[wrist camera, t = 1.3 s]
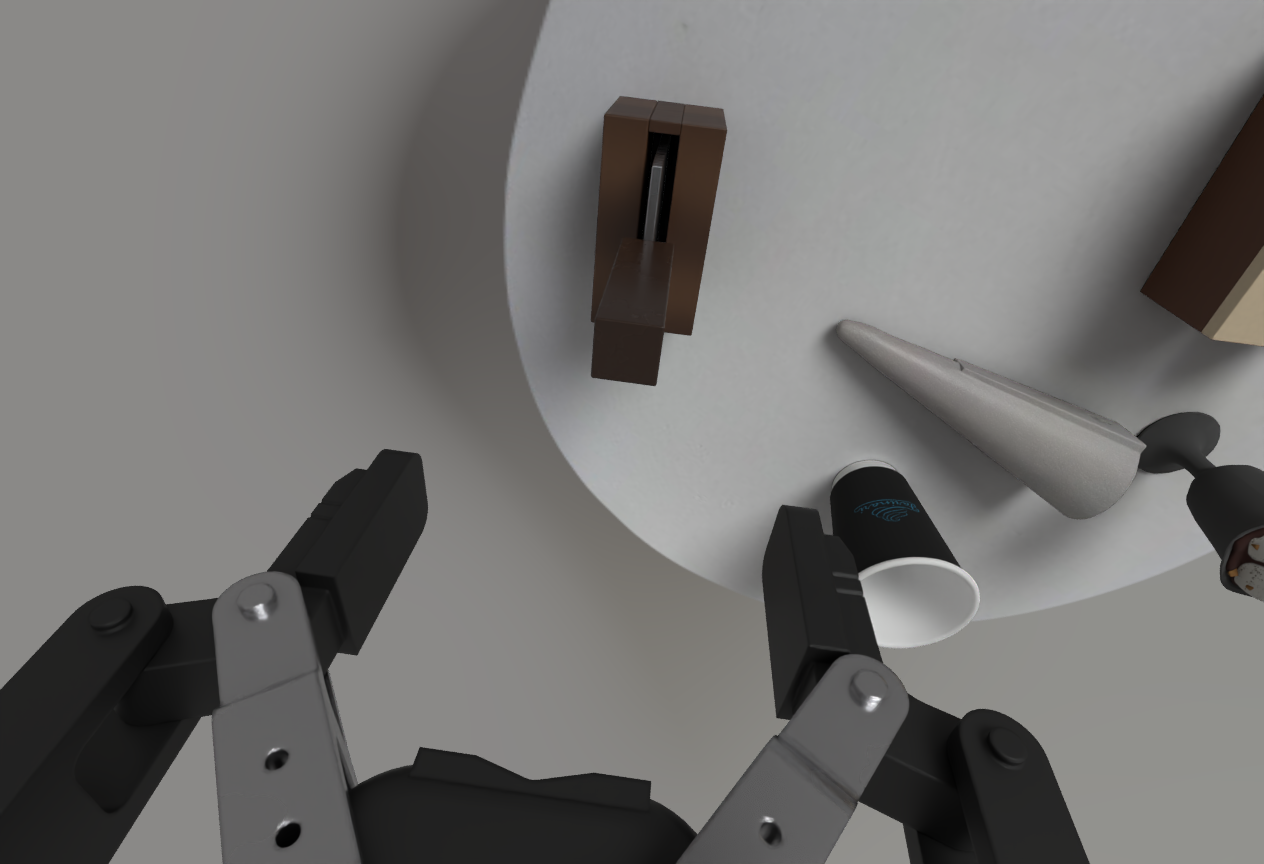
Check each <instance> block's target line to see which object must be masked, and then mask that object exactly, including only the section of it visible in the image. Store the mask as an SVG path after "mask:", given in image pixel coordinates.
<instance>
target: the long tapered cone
mask: <svg viewBox="0 0 1264 864" xmlns="http://www.w3.org/2000/svg"><path fill="white" fill-rule="evenodd" d="M836 333H837V335H838V336H839V338H840V339H841V340H842V341H843V342H844V343H846V344H847V345H848V346H849V347H851V348H852V349H853V350H854V351H856V352H857V353H858V354H859V355H860V356H862V357H863V358H864V359H865V360H866V361H867V362H869V363H870V364H871V365H872V366H873V367H875V368H876V369H877V370H879V371H880V372H881V373H882V374H884V375H885V376H886V377H887V378H889V379H890V380H891V381H893V382H894V383H895V384H896V385H898V386H899V387H900V388H902V389H903V390H904V391H905V392H907V393H908V394H909V395H911V396H912V397H913V398H914V399H916V400H917V401H918V402H920V403H921V404H922V405H924V406H925V407H926V408H927V409H929V410H930V411H931V412H933V413H934V414H935V415H937V416H938V417H939V418H940V419H942V420H943V421H944V422H945V423H947V424H948V425H949V426H951V427H952V428H953V429H954V430H956V431H957V432H958V433H960V434H961V435H962V436H963V437H965V438H966V439H967V440H969V441H970V442H971V443H972V444H974V445H975V446H976V447H978V448H979V449H980V450H981V451H983V452H984V453H985V454H987V455H988V456H989V457H990V458H992V459H993V460H994V461H995V462H997V463H998V464H999V465H1001V466H1002V467H1003V468H1005V469H1006V470H1007V471H1008V472H1010V473H1011V474H1012V475H1014V476H1015V477H1016V478H1018V479H1019V480H1020V481H1021V482H1023V483H1024V484H1025V485H1026V486H1028V487H1029V488H1030V489H1031V490H1032V491H1034V492H1035V493H1036V494H1037V495H1039V496H1040V497H1041V498H1043V499H1044V500H1045V501H1047V502H1048V503H1049V504H1050V505H1052V506H1053V507H1054V508H1056V509H1057V510H1058V511H1059V512H1061V513H1062V514H1063V515H1065V516H1067V517H1069V518H1072V519H1087V518H1091V517H1094V516H1096V515H1098V514H1100V513H1102V512H1104V511H1106V510H1107V509H1108V508H1110V507H1111V506H1112V505H1114V504H1115V503H1116V502H1117V501H1118V500H1119V499H1120V498H1121V497H1122V496H1123V494H1124V493H1125V492H1126V490H1127V489H1128V487H1129V486H1130V484H1131V483H1132V481H1133V479H1134V477H1135V474H1136V471H1137V468H1138V464H1139V459H1140V454H1141V452H1142V451H1143V450H1144V449H1145V448H1146V445H1145V444H1144V443H1143V442H1142V441H1141V440H1139V439H1138V438H1137V437H1136V436H1134V435H1133V434H1132V433H1131V432H1129V431H1128V430H1127V429H1125V428H1124V427H1123V426H1121V425H1120V424H1118V423H1117V422H1115V421H1112V420H1110V419H1107V418H1105V417H1102V416H1100V415H1097V414H1095V413H1092V412H1090V411H1087V410H1085V409H1082V408H1080V407H1077V406H1075V405H1072V404H1070V403H1067V402H1065V401H1062V400H1060V399H1057V398H1055V397H1052V396H1050V395H1047V394H1045V393H1042V392H1040V391H1037V390H1035V389H1032V388H1030V387H1027V386H1025V385H1022V384H1020V383H1017V382H1015V381H1012V380H1010V379H1007V378H1004V377H1002V376H999V375H997V374H994V373H992V372H989V371H987V370H984V369H982V368H979V367H977V366H974V365H972V364H969V363H967V362H964V361H962V360H959V359H957V358H955V359H954V360H951V359H948V358H946V357H943V356H941V355H939V354H936V353H934V352H932V351H929V350H927V349H925V348H922V347H919V346H917V345H914V344H911V343H909V342H906V341H904V340H901V339H899V338H896V337H894V336H891V335H889V334H887V333H885V332H883V331H881V330H878V329H876V328H874V327H872V326H869V325H866V324H863V323H860V322H855V321H850V320H842V321H840V322H839V323H838V325H837V327H836Z"/></svg>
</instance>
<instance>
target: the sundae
mask: <svg viewBox="0 0 1264 864" xmlns="http://www.w3.org/2000/svg"><path fill="white" fill-rule="evenodd" d="M1219 437H1220V425H1219V424H1218V422H1217V421H1216V420H1215V419H1214V418H1213V417H1211V416H1209V415H1207V414H1203V413H1199V412H1188V413H1179V414H1175V415H1172V416H1169V417H1166V418H1163V419H1161V420H1159V421H1157V422H1155V423H1154V424H1152V425H1150V426H1149V427H1147V428H1146V429H1145V430H1144V431H1143V432H1142V433H1141V434H1140V435H1139V436H1138V437H1137V438H1138V439H1139V440H1141V441H1142V442H1143V443H1144V444H1145V445H1146V448H1145V449H1144V450H1143V451H1142V452H1141V454H1140V459H1139V464H1138V468H1139V469H1142V470H1144V471H1147V472H1151V473H1169V472H1173V471H1177V470H1181V469H1184V468H1185V469H1186V470H1187V471H1189V472H1190V473H1191V474H1192V475H1193V476H1194V477H1195V479H1194V480H1193V481H1192V483H1191V485H1190V488H1189V491H1188V494H1187V498H1186V501H1187V505H1188V507H1189V509H1190V511H1191V513H1192V515H1193V517H1194V519H1195V521H1196V522H1197V524H1198V525H1199V527H1200V528H1201V529H1202V531H1203V532H1204V534H1205V535H1206V537H1207V538H1208V540H1209V541H1210V542H1211V544H1212V545H1213V547H1214V548H1215V550H1216V552H1217V553H1218V555H1219V556H1220V558H1221V560H1222V561H1221V565H1220V580H1221V583H1222V584H1223V586H1224V587H1225V588H1226V589H1228V590H1230V591H1233V592H1236V593H1239V594H1243V595H1247V596H1251V597H1254V598H1256V599H1259V600H1260V601H1263V602H1264V471H1262V470H1260V469H1258V468H1255V467H1252V466H1249V465H1225V466H1219V467H1215V466H1214V465H1213V464H1212V463H1211V462H1210V461H1209V460H1207V459H1206V456H1207V455H1208V454H1209V453H1210V452H1211V451H1212V450H1213V449H1214V448H1215V446H1216V445H1217V442H1218V440H1219Z"/></svg>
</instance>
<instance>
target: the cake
mask: <svg viewBox="0 0 1264 864" xmlns="http://www.w3.org/2000/svg"><path fill="white" fill-rule="evenodd" d="M1140 292H1141V293H1143V294H1144V295H1146V296H1147V297H1149V298H1150V299H1152V300H1153V301H1155V302H1156V303H1158V304H1159V305H1161V306H1162V307H1164V308H1165V309H1167V310H1168V311H1170V312H1171V313H1172V314H1174V315H1175V316H1177V317H1178V318H1180V319H1181V320H1183V321H1184V322H1186V323H1187V324H1189V325H1190V326H1192V327H1193V328H1195V329H1196V330H1198V331H1199V332H1201V333H1202V334H1204V335H1205V336H1207V337H1208V338H1210V339H1211V340H1218V341H1226V342H1233V343H1241V344H1248V345H1256V346H1264V95H1263V97H1262V98H1261V100H1260V102H1259V103H1258V105H1257V106H1256V108H1255V109H1254V111H1253V113H1252V114H1251V116H1250V117H1249V119H1248V121H1247V122H1246V124H1245V125H1244V127H1243V129H1242V130H1241V132H1240V133H1239V135H1238V137H1237V138H1236V140H1235V141H1234V143H1233V145H1232V146H1231V148H1230V149H1229V151H1228V152H1227V154H1226V156H1225V157H1224V159H1223V160H1222V162H1221V164H1220V165H1219V167H1218V168H1217V170H1216V172H1215V173H1214V175H1213V176H1212V178H1211V180H1210V181H1209V183H1208V184H1207V186H1206V188H1205V189H1204V191H1203V192H1202V194H1201V196H1200V197H1199V199H1198V200H1197V202H1196V203H1195V205H1194V207H1193V208H1192V210H1191V211H1190V213H1189V215H1188V216H1187V218H1186V219H1185V221H1184V223H1183V224H1182V226H1181V227H1180V229H1179V231H1178V232H1177V234H1176V235H1175V237H1174V239H1173V240H1172V242H1171V243H1170V245H1169V246H1168V248H1167V250H1166V251H1165V253H1164V254H1163V256H1162V258H1161V259H1160V261H1159V262H1158V264H1157V266H1156V267H1155V269H1154V270H1153V272H1152V274H1151V275H1150V277H1149V278H1148V280H1147V282H1146V283H1145V285H1144V286H1143V288H1142V289H1141V291H1140Z"/></svg>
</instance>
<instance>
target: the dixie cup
mask: <svg viewBox="0 0 1264 864" xmlns="http://www.w3.org/2000/svg"><path fill="white" fill-rule="evenodd" d="M830 504H831V516H832V527H833V536H839V537H840V539H841V540H842V541H843V543H844V544H845V545H846V546H847V548H848V549H849V550H850V552H851V553H852V554H853V556H854V559H855V563H856V567H857V571H858V574H859V580H860V582H861V585H862V589H863V597H865V600H866V604H867V607H868V611H869V615H870V618H871V622H872V626H873V629H874V633H875V637H876V640H877V644H878V646H879V647H885V648H914V647H919V646H924V645H929V644H933V643H936V642H939V641H941V640H943V639H946V638H948V637H950V636H952V635H954V634H955V633H957V632H958V631H960V630H961V629H962V628H964V627H965V626H966V625H967V624H968V623H969V622H970V621H971V619H972V618H973V617H974V615H975V614H976V612H977V610H978V607H979V603H980V593H979V589H978V586H977V584H976V582H975V581H974V579H973V578H972V577H971V576H970V575H969V574H968V573H967V572H966V571H964V570H963V569H962V568H961V567H960V565H959V564H958V562H957V561H956V559H955V557H954V556H953V554H952V553H951V551H950V549H949V548H948V546H947V545H946V543H945V541H944V540H943V538H942V537H941V535H940V533H939V532H938V530H937V529H936V527H935V525H934V524H933V522H932V521H931V519H930V517H929V516H928V514H927V513H926V511H925V509H924V508H923V506H922V505H921V503H920V501H919V500H918V498H917V497H916V495H915V493H914V492H913V490H912V489H911V487H910V485H909V484H908V482H907V481H906V479H905V478H904V477H903V476H902V475H901V474H900V473H898V472H897V471H896V470H895V469H894V468H893V467H892V466H891V465H889V464H887V463H884V462H881V461H876V460H866V461H860V462H856V463H853V464H851V465H849V466H847V467H846V468H844V469H843V470H842V471H840V472H839V473H838V475H837V476H836V477H835V479H834V481H833V485H832V491H831V495H830Z"/></svg>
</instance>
